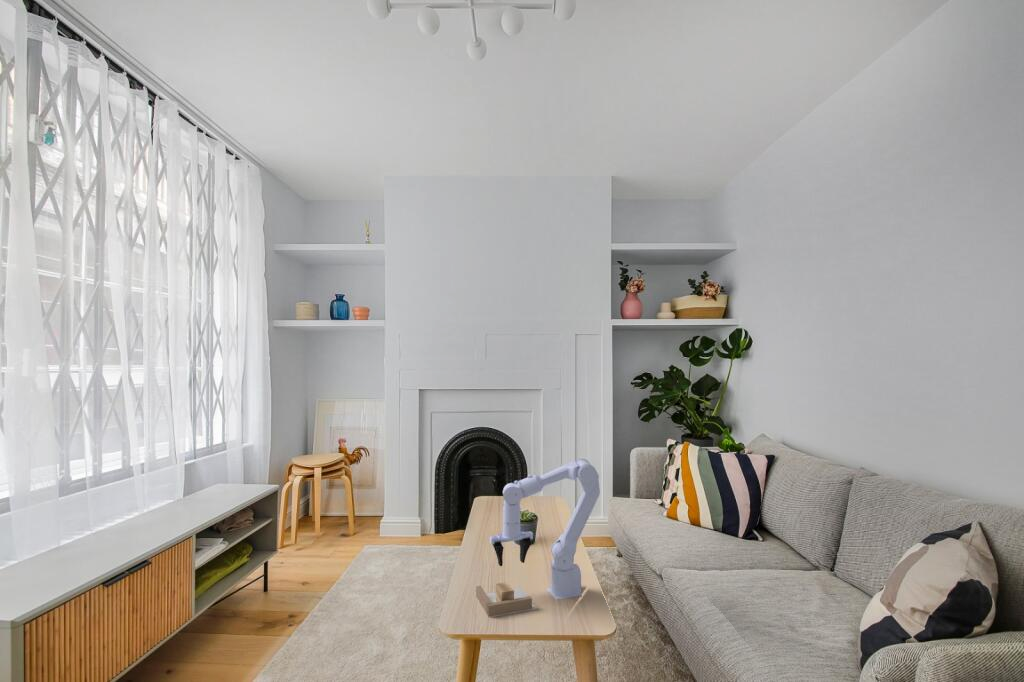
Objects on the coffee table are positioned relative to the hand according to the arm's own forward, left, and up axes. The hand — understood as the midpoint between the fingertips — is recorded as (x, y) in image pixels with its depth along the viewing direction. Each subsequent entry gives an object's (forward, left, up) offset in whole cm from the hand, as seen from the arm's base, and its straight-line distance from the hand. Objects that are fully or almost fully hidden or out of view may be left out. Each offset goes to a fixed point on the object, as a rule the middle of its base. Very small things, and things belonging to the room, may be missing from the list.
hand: (511, 563), depth 162 cm
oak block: (+5, +6, -9) cm, 12 cm away
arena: (+5, +5, -10) cm, 12 cm away
